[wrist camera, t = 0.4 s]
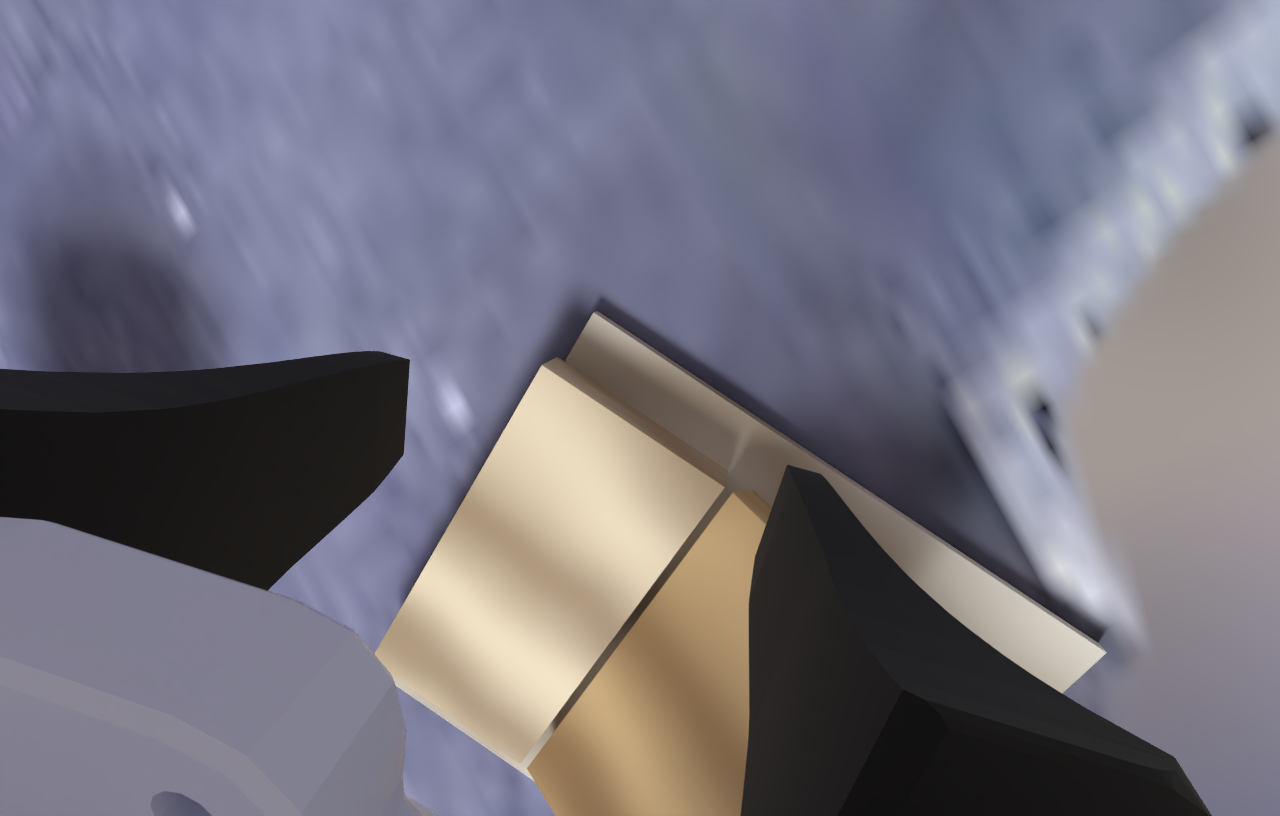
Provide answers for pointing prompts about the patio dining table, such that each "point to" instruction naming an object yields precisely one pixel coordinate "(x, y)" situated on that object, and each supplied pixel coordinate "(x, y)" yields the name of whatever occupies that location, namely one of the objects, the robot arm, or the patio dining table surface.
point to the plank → (669, 693)
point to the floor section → (632, 544)
